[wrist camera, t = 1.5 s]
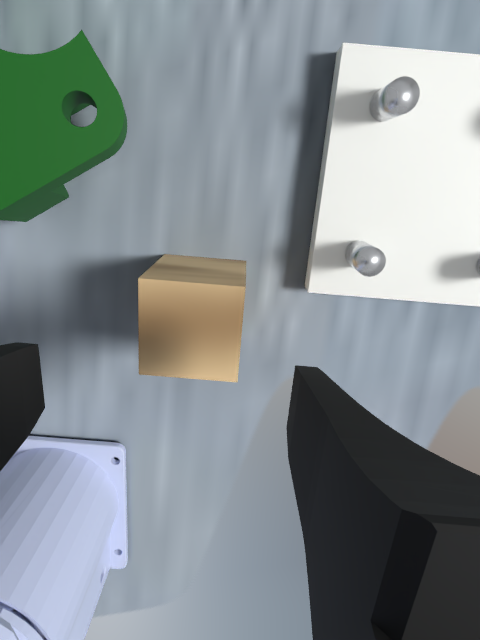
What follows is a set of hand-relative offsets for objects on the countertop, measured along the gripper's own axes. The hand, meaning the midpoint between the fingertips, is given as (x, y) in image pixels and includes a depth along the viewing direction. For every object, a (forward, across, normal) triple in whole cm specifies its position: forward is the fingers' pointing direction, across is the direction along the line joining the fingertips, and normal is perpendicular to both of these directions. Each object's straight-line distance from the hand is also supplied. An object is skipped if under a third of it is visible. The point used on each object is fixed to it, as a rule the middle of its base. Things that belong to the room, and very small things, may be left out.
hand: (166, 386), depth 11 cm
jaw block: (+10, 0, 0) cm, 10 cm away
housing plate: (+10, -10, -6) cm, 15 cm away
